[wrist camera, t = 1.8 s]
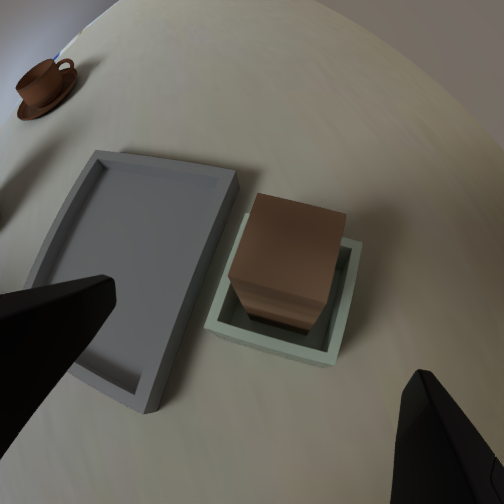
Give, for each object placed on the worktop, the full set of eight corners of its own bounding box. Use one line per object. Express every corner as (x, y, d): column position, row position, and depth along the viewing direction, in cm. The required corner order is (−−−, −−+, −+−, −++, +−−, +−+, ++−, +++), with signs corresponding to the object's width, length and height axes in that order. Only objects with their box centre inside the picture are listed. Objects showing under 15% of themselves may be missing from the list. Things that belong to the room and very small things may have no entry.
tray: (156, 411, 19) (143, 414, 17) (26, 334, 22) (9, 329, 20) (239, 187, 26) (235, 170, 24) (105, 164, 29) (95, 150, 27)
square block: (306, 335, 20) (326, 302, 12) (250, 319, 21) (227, 275, 12) (321, 281, 22) (346, 214, 13) (267, 266, 22) (257, 192, 14)
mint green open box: (323, 368, 20) (334, 365, 16) (218, 337, 21) (203, 327, 17) (348, 267, 22) (363, 242, 18) (251, 242, 24) (245, 212, 20)
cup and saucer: (66, 71, 41) (53, 47, 35) (92, 82, 37) (77, 52, 31) (16, 116, 38) (-1, 93, 32) (33, 135, 34) (11, 108, 28)
